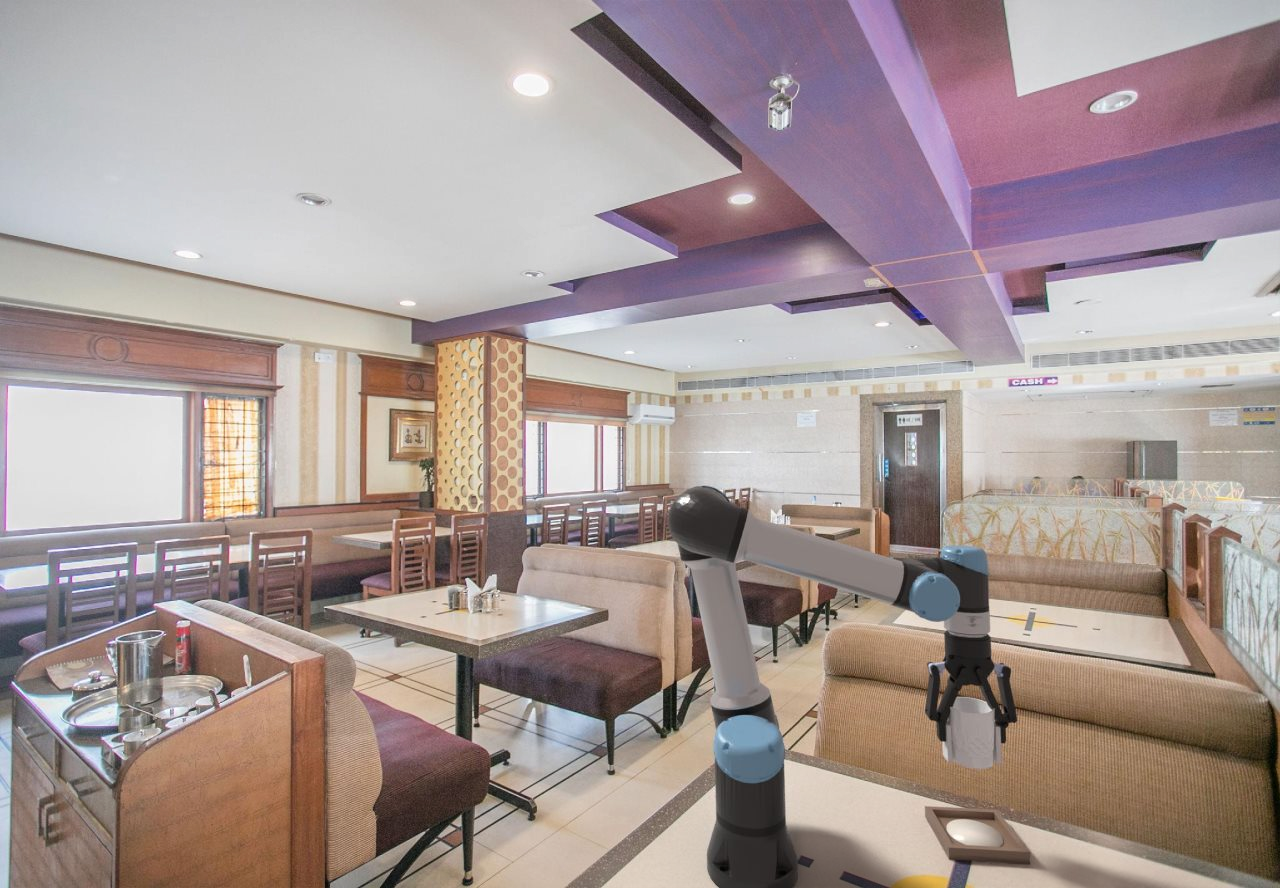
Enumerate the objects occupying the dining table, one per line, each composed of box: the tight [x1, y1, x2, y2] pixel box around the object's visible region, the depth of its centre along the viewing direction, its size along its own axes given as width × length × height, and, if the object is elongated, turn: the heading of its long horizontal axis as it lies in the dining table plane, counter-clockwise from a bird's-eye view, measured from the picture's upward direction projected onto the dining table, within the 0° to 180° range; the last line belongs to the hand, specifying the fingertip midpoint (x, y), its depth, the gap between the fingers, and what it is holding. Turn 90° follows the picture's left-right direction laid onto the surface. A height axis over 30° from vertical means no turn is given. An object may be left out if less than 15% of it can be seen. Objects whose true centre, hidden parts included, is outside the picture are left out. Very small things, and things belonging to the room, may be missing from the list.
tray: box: [924, 805, 1031, 865], centre depth 114 cm, size 13×13×2 cm
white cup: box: [947, 696, 995, 770], centre depth 114 cm, size 8×8×10 cm
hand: (971, 759), depth 114 cm, fingers closed on white cup, 8 cm apart
